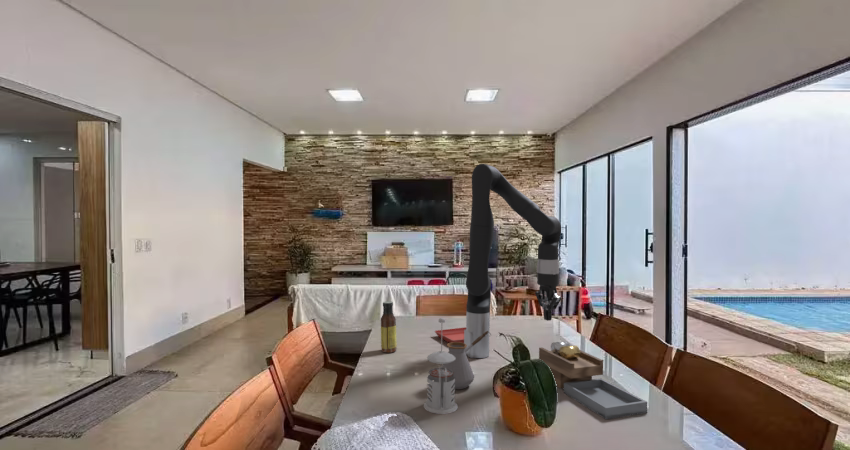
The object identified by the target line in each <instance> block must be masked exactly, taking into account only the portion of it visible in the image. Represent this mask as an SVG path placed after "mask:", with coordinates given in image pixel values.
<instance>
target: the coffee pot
mask: <svg viewBox="0 0 850 450" xmlns="http://www.w3.org/2000/svg"><path fill="white" fill-rule="evenodd" d="M487 334H488V331H486V332H485V333H483V334H482V335H481V336H480V337H478V338H477V339H476V340H475V341H474V342H473V343H472V344H471V345H470V346H468V347H467V345H466V344H465V343H461V342H451V343H449V342H447V344H446V347H448V352H447V353H450V354H452V355H453V356H455V358H456V359H455V360H454V361H453V362H451V363H447V364H442V368H447V369H451V370H452V371H453V372H454V374H453V376H454V377H455V382H454V384H455V387H454V388H455V390H462V389H466V388H468V387H469V386H470V385H471V384H472V383H473V381H475V374H474V371H473V369H472V366H471V365H470V361H469V359H468V356H467V355H466V354H465V352H467V351H468V350H469V349H470V348H471V347H472V346H474V345H475V344H476V343H478V342H479V341H480V340H481V339H482V338H483V337H485V335H487ZM487 336H488V335H487ZM489 336H492V333H491V332H489ZM466 347H467V348H466ZM465 348H466V349H465ZM447 382H450V381H448V380H447ZM451 389H452V387H451Z"/></svg>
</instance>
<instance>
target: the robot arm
mask: <svg viewBox="0 0 850 450" xmlns="http://www.w3.org/2000/svg"><path fill="white" fill-rule="evenodd" d="M491 191H492V192H494V193H495V194H497V195H499V196H500V197H501V199H503V200H504V201H505V202H506V203H507V204H508V206H509V207H510V208H511V209H512V210H513V211H514V212H515V213H516V214H517V215H518V216H520V217H521V218H522V219H523V220H525V221H526V222H527V223H528V225H529V226H530V227H531V228H532V229H533V230H534V231H535V232H536V233H537V234H539V235H540V236H541V241H540V243H539V244H538V245H537V246H538V247H537V264H536V284H537V285H538V286H539V287H538V291H535V292H534V293H535V296H536V298H537V302H538V304H539V307H542V309H543V320H544V321H551V320H552V318H553V317H552V316H553V314H552V313H553V312H552V311H553V310H556V309H557V307H558V306H559V304H560V302H561V301H562V297H561V295H560V296H559V295H558V290H557V286H559V285H560V263H559V245H560V240H561V233H562V225H561V222H560V220H559V219H558V218H557V217H555V216H552V215H551V216H550V215H548V214H546V213H545V212H543V211H542V210H541V208H540V206H539V204H537V203H535V202H534V201H533V200H532V199H531V198H530V197H528V196H527V195H525V194H524V193H522V192H521V191H520V190H518V188H516V187H515V186H514V185H513V184H512V183H511V182H509V181H508V179H507V178H506V177H505V176H504V175H503V174H502V173H501V171H500V170H498V168H496V167H495V166H492V165H490V164H488V163H487V164H486V163H479V164H477V165H475V166H474V168H473V170H472V173H471V197H472V198H471V211H470V212H471V215H470V226H469V261H468V262H469V263H468V269H467V274H466V279H465V286H466V289H467V300H466V301H467V302H466V308H465V309H466V316H465V319H466V322H465V323H466V325H465V327H466V329H465V330H464V343H465V344H466V345H467V347H468V346H470V345H471V344H472V343H473V342H474V341H475V340H476V339H477V338H478V337H480V336H481V335H482V334H483V333H485V332H486V331H488V334H487V335H488V336H487V335H485V337H483V338H482V339H481V340H480V341H479V342H478V343H476V344H475V345H474V346H472V347H471V348H470V349H469V350H468V351H467V352H465V354H466V356H467V358H468V357H469V359H470V358H475V359H484V358H488V357H489V356H490V333H491V332H490V331H491V330H490V328H491V327H490V326H491V325H490V321H491V320H490V318H491V312H490V311H491V300H492V299H491V296H492V294H491V293H492V292H491V291H492V282H491V277H490V275H489V259H490V255H491V249H492V245H493V241H494V233H495V232H494V230H495V229H494V228H495V219H494V215H493V211H492V207H491V202H490V193H491ZM489 332H490V333H489ZM467 347H466V348H467ZM466 348H465V349H466Z"/></svg>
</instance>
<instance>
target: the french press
mask: <svg viewBox="0 0 850 450" xmlns="http://www.w3.org/2000/svg"><path fill="white" fill-rule="evenodd" d="M438 323H441V328H440V330H441V338H440V341H441V342H440V343H441V344H440V345H441V346H440V349H441V350H439V351H435V352H432V353H430V354H429V355H427V357H426V358H427V361H428V362H430V363H432V364H438V365H439V364H440V367H433V368H431V369H429V370H428V375H427V377H426V378H427V379H426V382H427V383H426V386H427V387H428V388H426V391H427V392H426V395H427V396H426V401H425V402H424V403H423V408H424V409H425V410H426V411H427V412H429V413H432V414H439V415H445V414H450V413H454V412H456V411H457V410H458V408H459V405H458V404H457V402H455V399H456V398H455V397H456V396H455V395H456V393H455V392H456V389H455V388H454V387H455V384H454V382H455V377H454V376H453V374H454V372H453V371H452V370H451V369H447V368H442V366H443V364H447V363H451V362H453V361H454V360H455V359H456V358H455V356H453V355H452V354H450V353H448V352H447V351H443V339H442V330H443V323H446V319H445V318H444V317H441V318H439V319H438ZM447 380H448V381H450V382H447ZM451 387H452V389H451Z"/></svg>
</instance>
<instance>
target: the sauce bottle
mask: <svg viewBox="0 0 850 450" xmlns="http://www.w3.org/2000/svg"><path fill="white" fill-rule="evenodd" d="M393 305H394V304H393V301H383V302H382V307H383V311H382V313H383V314H382V315H381V317H380V348H381V351H382V353H387V354H391V353H395V352H397V347H398V346H397V345H398V344H397V322H396V317H395V315H394V311H393V309H394V308H393Z"/></svg>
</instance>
